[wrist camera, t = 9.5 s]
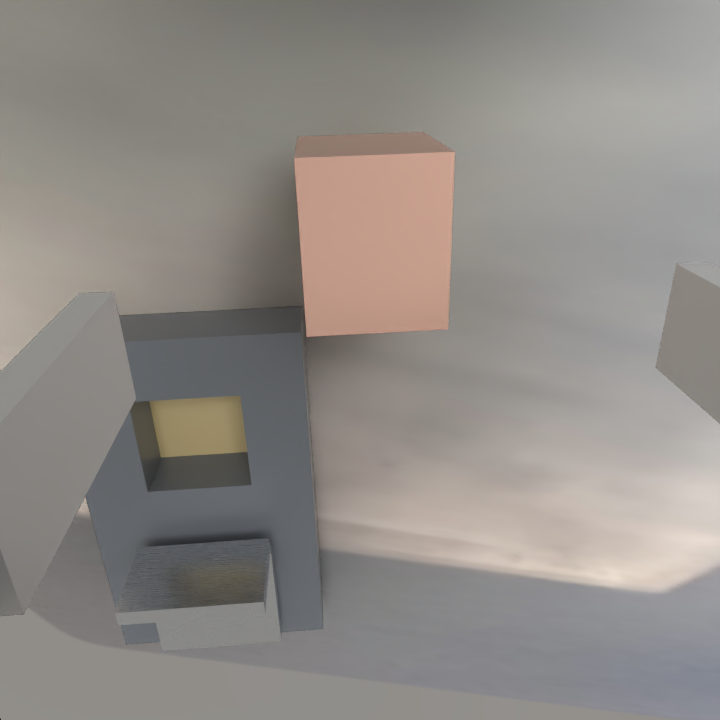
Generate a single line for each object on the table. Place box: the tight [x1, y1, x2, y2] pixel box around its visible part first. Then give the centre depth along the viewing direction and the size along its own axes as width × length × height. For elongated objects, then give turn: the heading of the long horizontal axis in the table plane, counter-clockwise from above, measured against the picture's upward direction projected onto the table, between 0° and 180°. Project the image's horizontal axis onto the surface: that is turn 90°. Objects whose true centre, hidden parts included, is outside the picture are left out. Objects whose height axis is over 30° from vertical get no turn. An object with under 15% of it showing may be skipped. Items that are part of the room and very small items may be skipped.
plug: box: [294, 132, 455, 337], centre depth 25 cm, size 6×5×11 cm
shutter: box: [115, 538, 282, 651], centre depth 33 cm, size 8×7×5 cm
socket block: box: [86, 306, 323, 645], centre depth 35 cm, size 20×12×4 cm, turn 2°
